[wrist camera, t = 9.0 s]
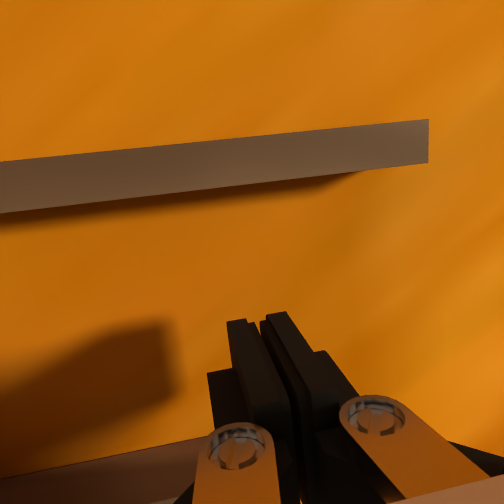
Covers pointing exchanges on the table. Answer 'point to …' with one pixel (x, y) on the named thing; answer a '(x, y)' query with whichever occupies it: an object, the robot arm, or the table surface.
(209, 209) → the table surface
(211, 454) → the robot arm
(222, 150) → the chute
